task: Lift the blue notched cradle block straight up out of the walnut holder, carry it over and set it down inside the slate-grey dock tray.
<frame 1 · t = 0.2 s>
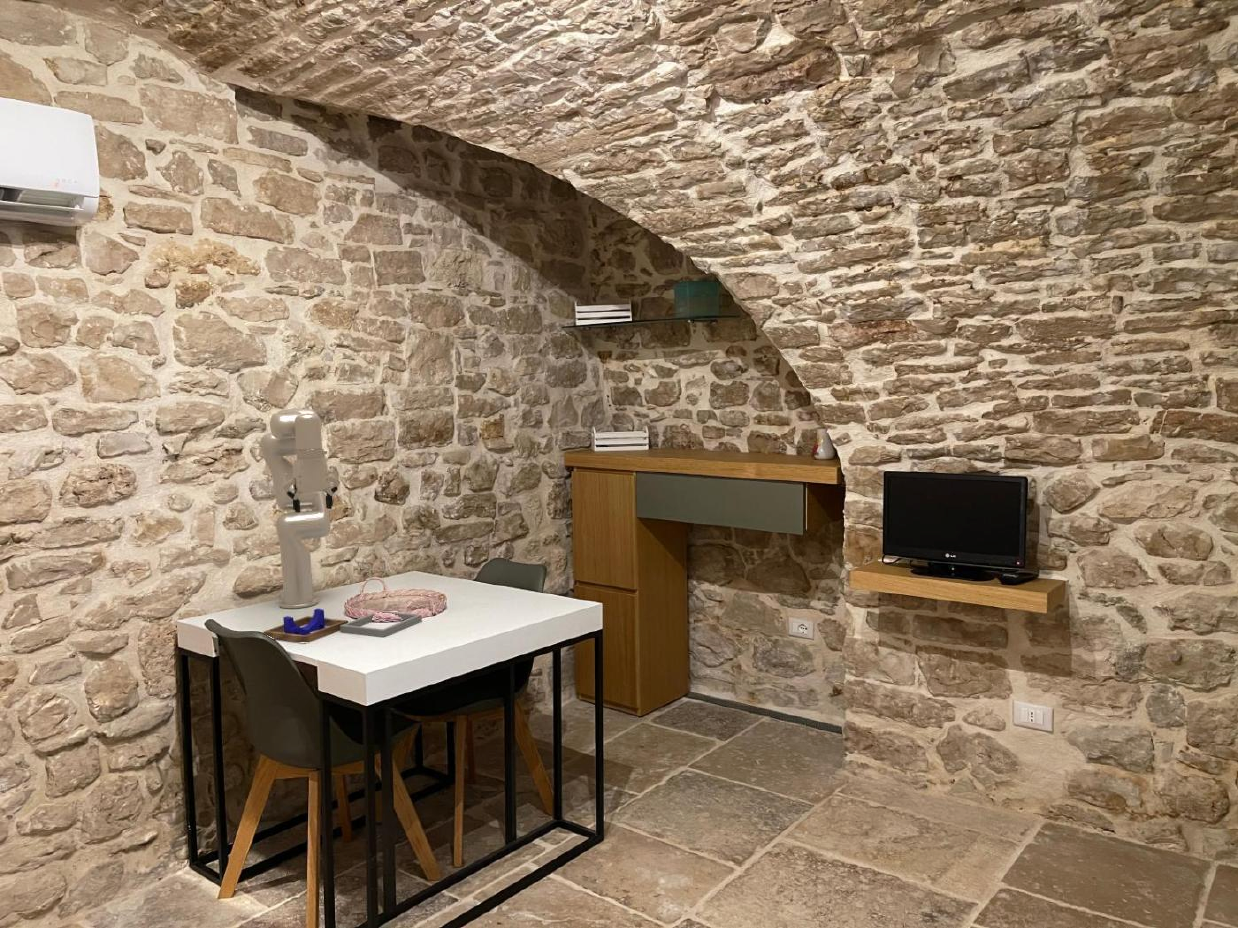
hand: (313, 510, 292), 36 cm above the table, tool pointing down, fingers open, 9 cm apart
dock tray: (381, 626, 293), on the table
blue notched cradle block: (306, 633, 290), resting in walnut holder
walnut holder: (306, 632, 289), on the table
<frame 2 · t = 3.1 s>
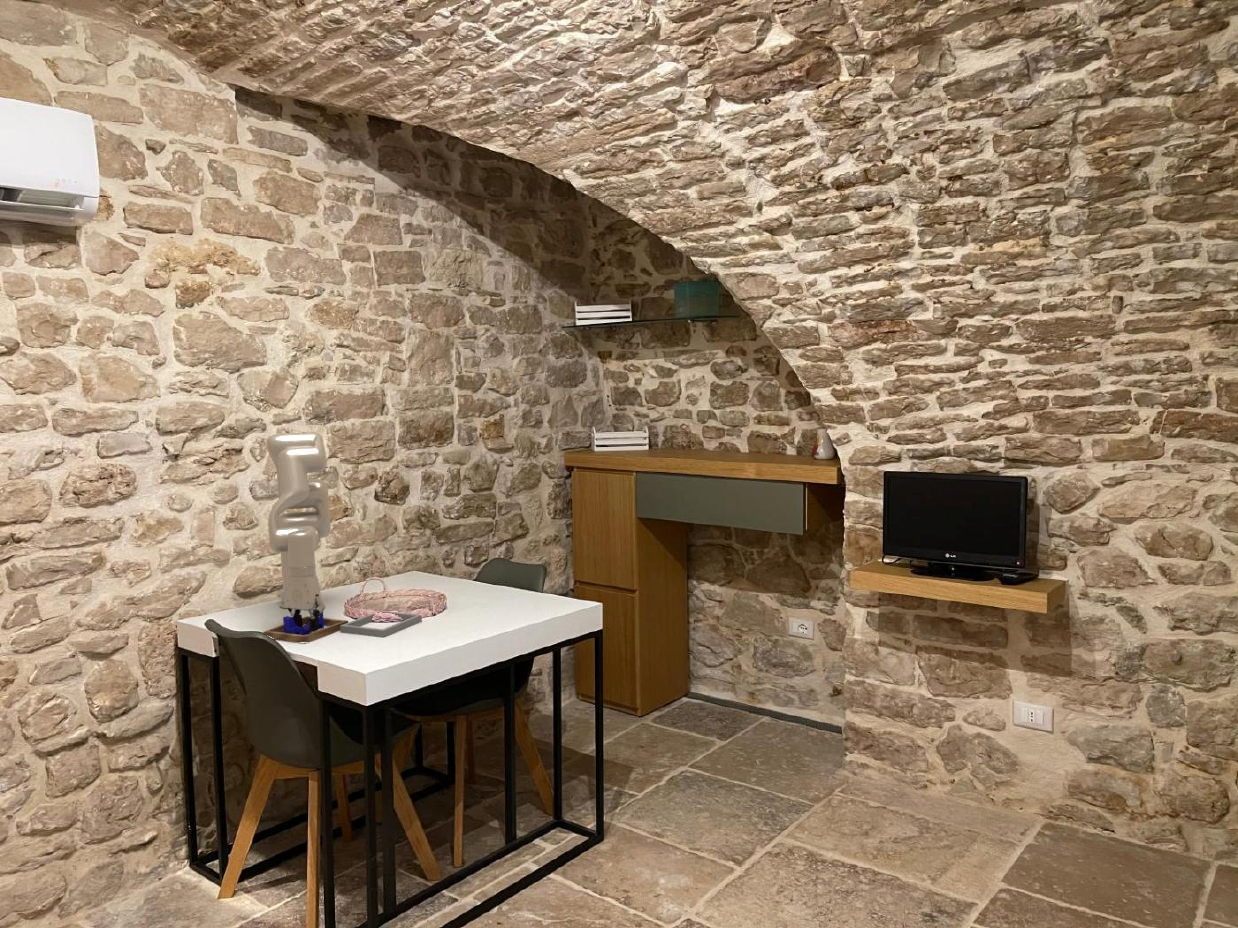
hand: (306, 629, 289), 1 cm above the table, tool pointing down, fingers open, 5 cm apart
blue notched cradle block: (305, 633, 290), resting in walnut holder, touching gripper
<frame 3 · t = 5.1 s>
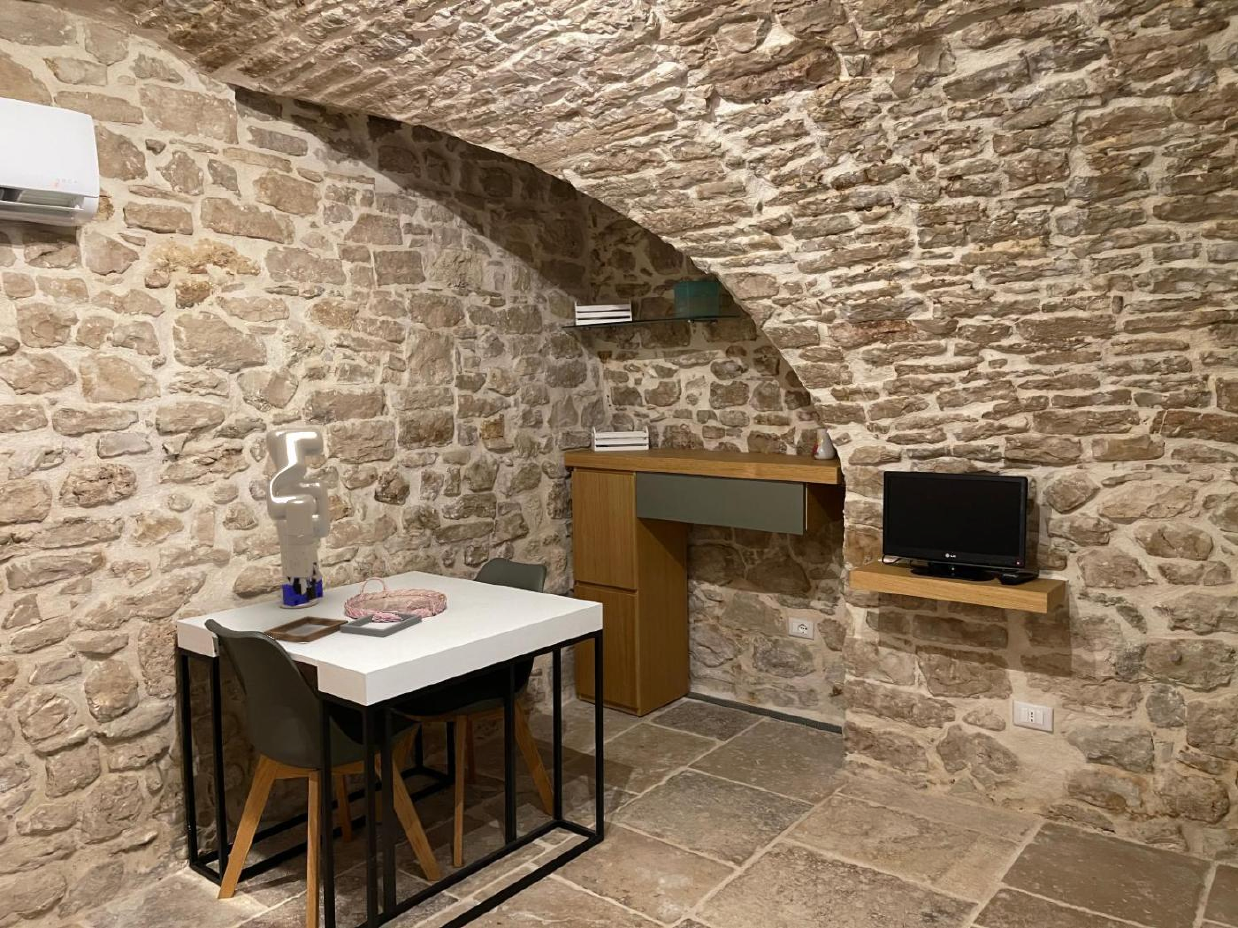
hand: (304, 597, 289), 11 cm above the table, tool pointing down, fingers closed on blue notched cradle block, 4 cm apart
blue notched cradle block: (305, 601, 289), point 9 cm above the table, touching gripper
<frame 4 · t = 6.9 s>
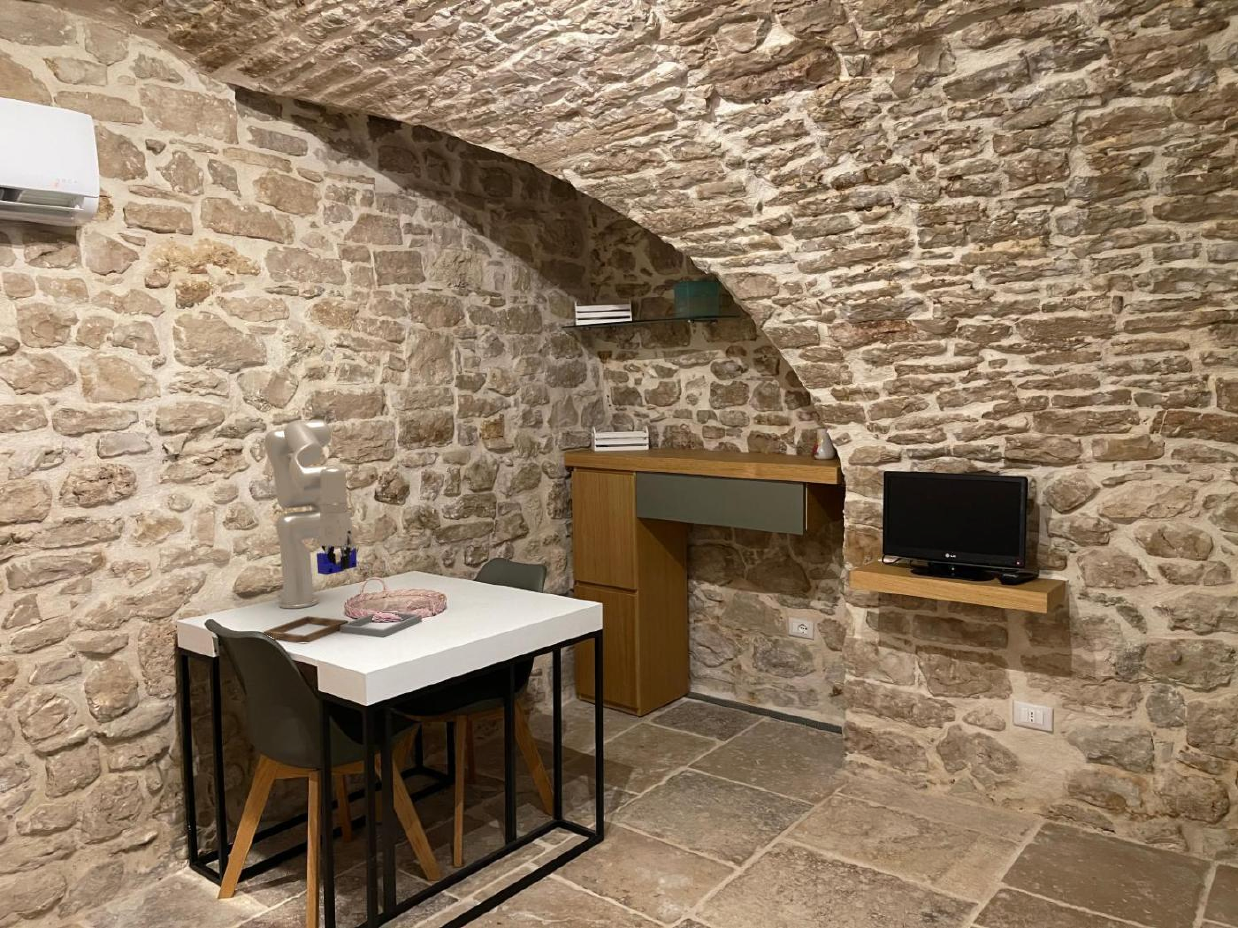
hand: (338, 567, 289), 19 cm above the table, tool pointing down, fingers closed on blue notched cradle block, 4 cm apart
blue notched cradle block: (339, 570, 289), point 18 cm above the table, touching gripper
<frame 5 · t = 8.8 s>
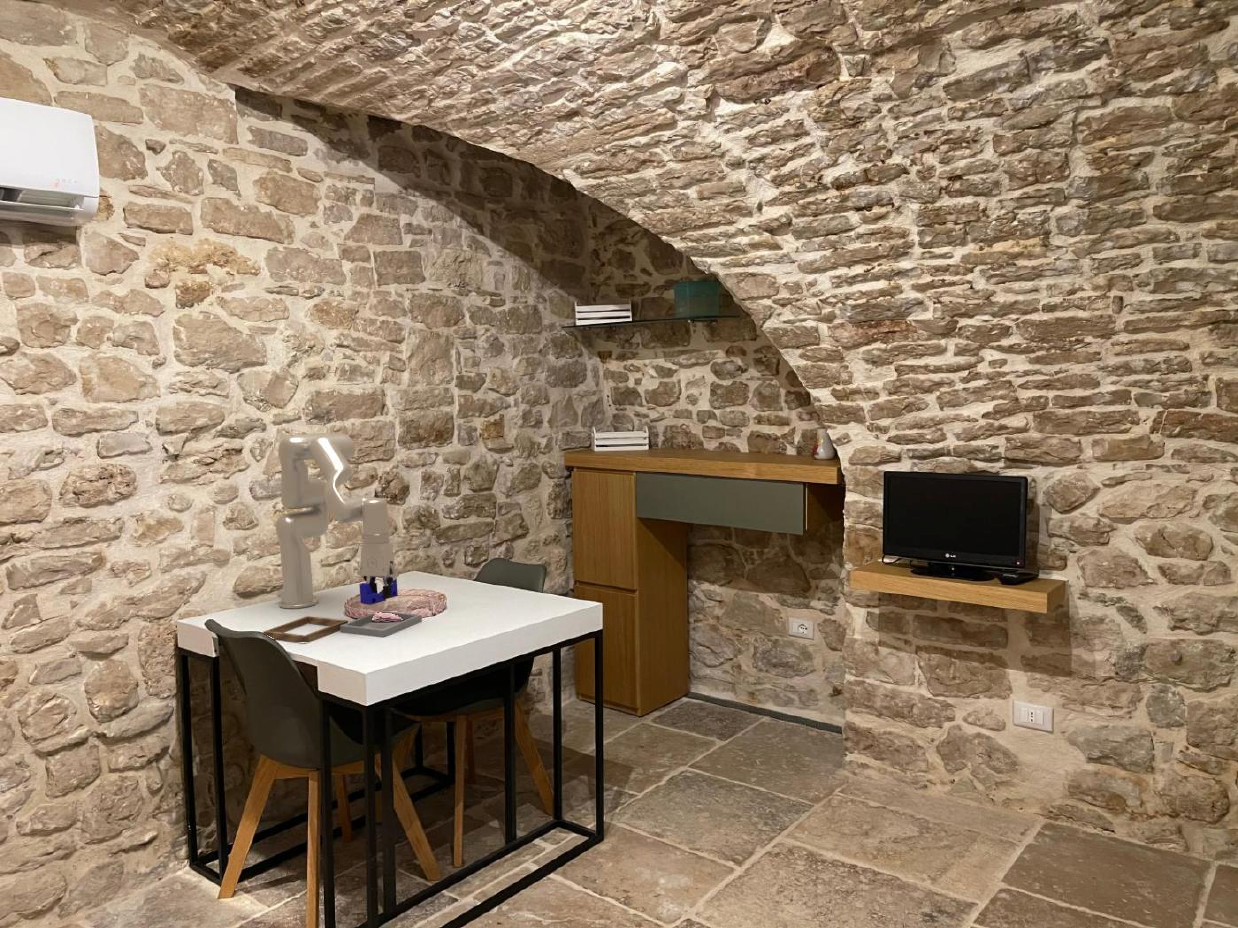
hand: (380, 596, 292), 9 cm above the table, tool pointing down, fingers closed on blue notched cradle block, 4 cm apart
blue notched cradle block: (381, 600, 292), point 8 cm above the table, touching gripper
when the fingers open (2 cm above the table, at t = 10.5 s): blue notched cradle block stays where it is, resting in dock tray.
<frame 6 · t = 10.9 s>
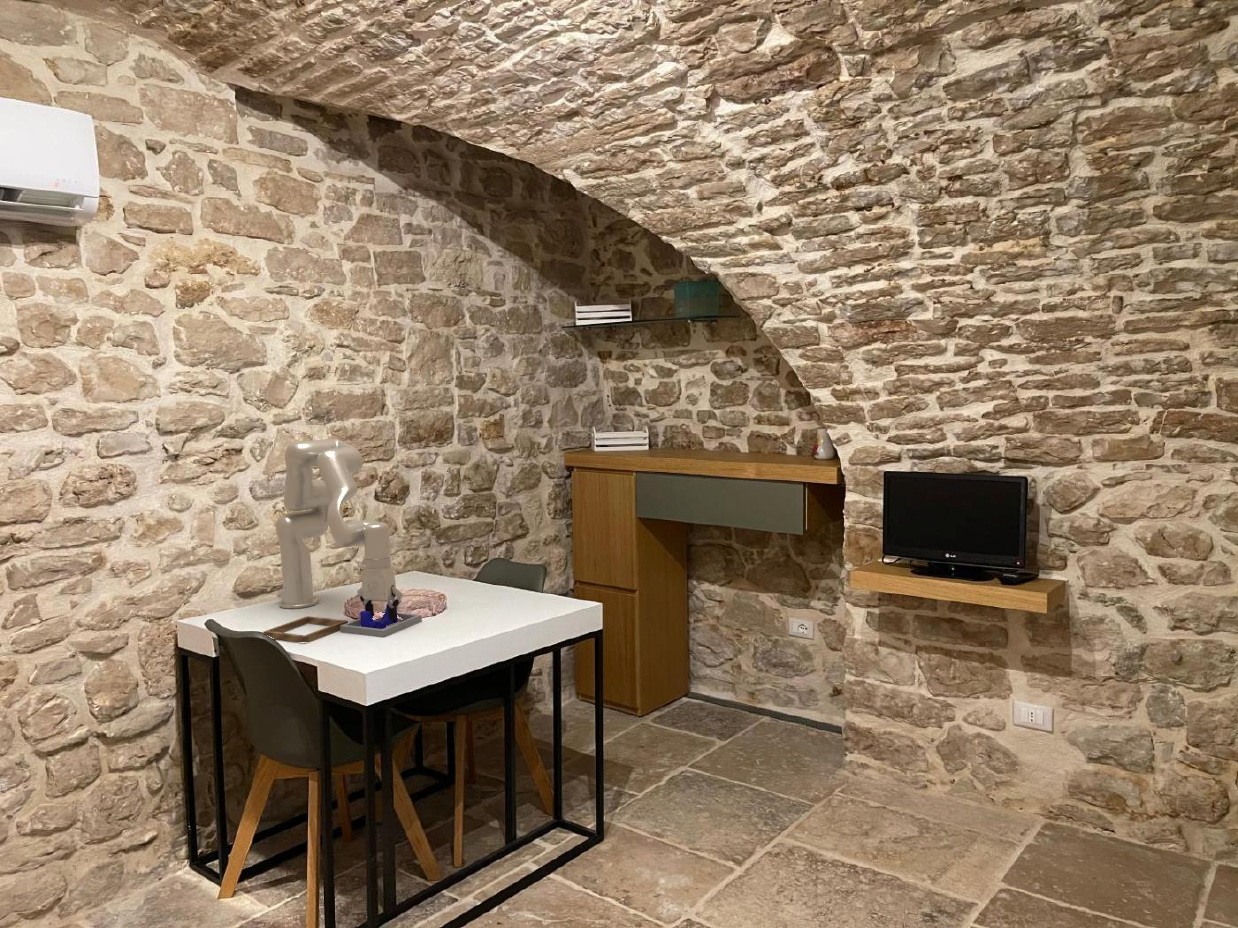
hand: (381, 618, 293), 3 cm above the table, tool pointing down, fingers open, 8 cm apart
blue notched cradle block: (381, 627, 294), resting in dock tray
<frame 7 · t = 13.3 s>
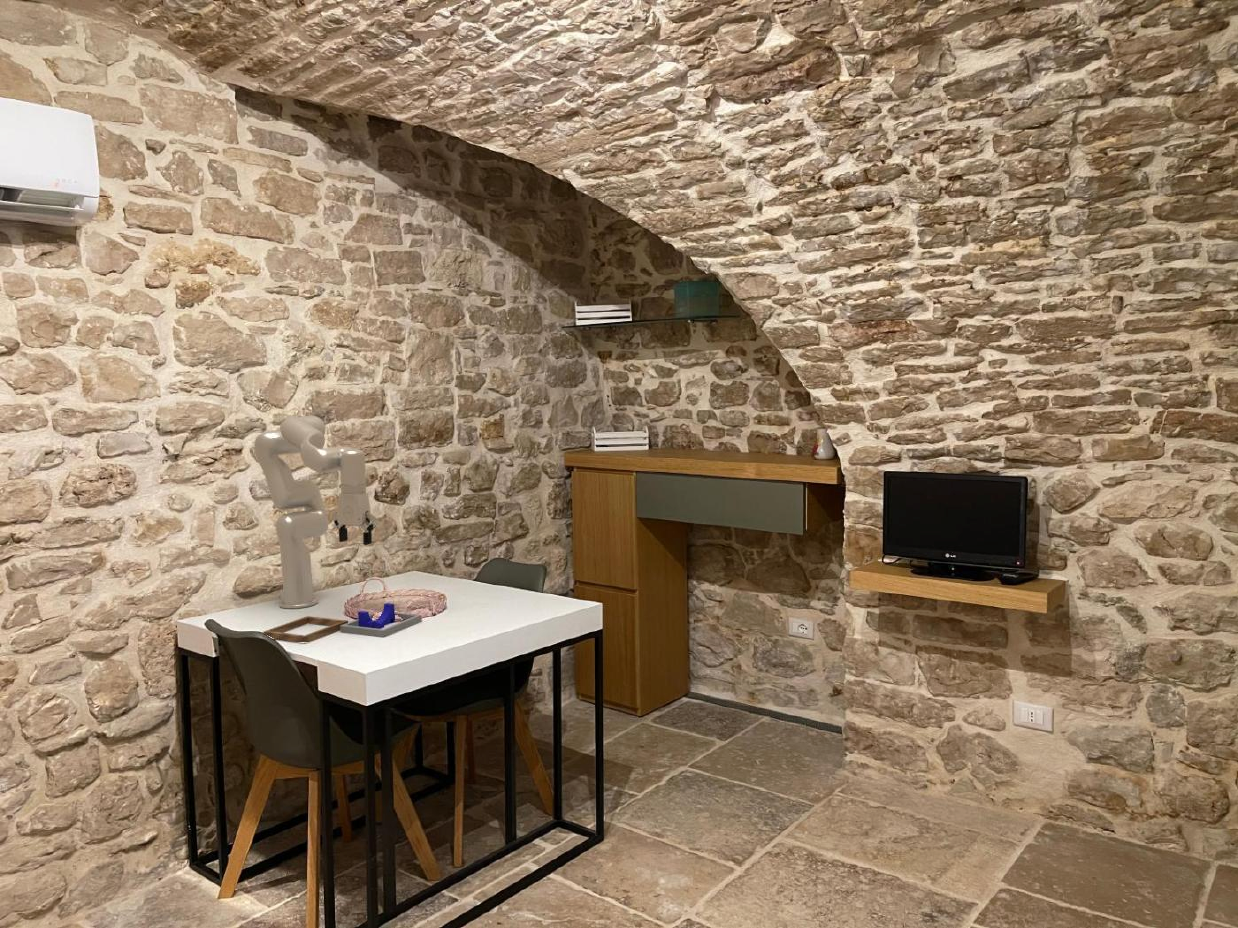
hand: (355, 542, 300), 25 cm above the table, tool pointing down, fingers open, 9 cm apart
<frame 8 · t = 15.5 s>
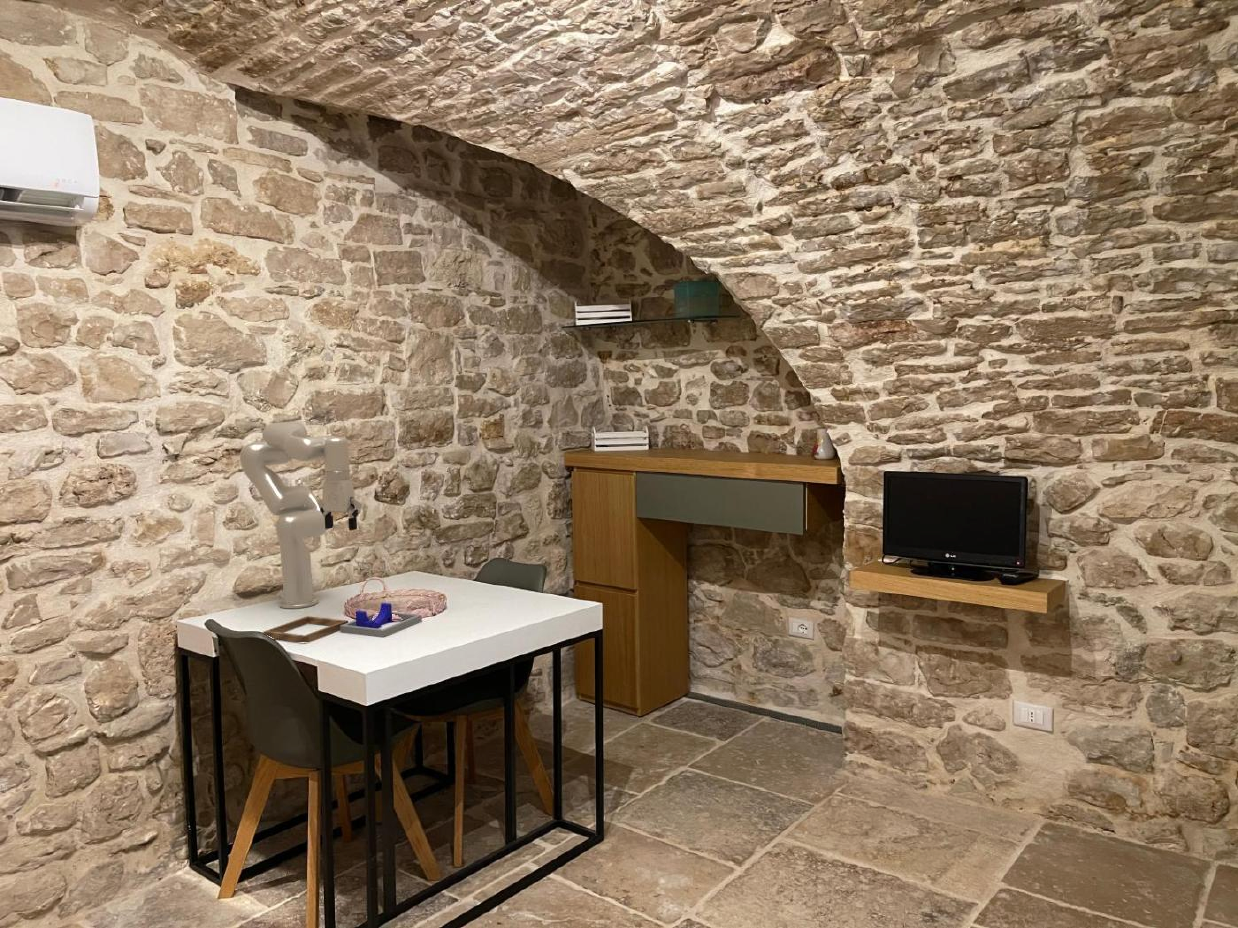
hand: (341, 529, 305), 28 cm above the table, tool pointing down, fingers open, 9 cm apart
blue notched cradle block: (376, 627, 294), resting in dock tray
at the end: blue notched cradle block inside the target area on the dock tray (2.1 cm from its centre), point 0.0 cm above the dock tray's base; the gripper is holding nothing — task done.
